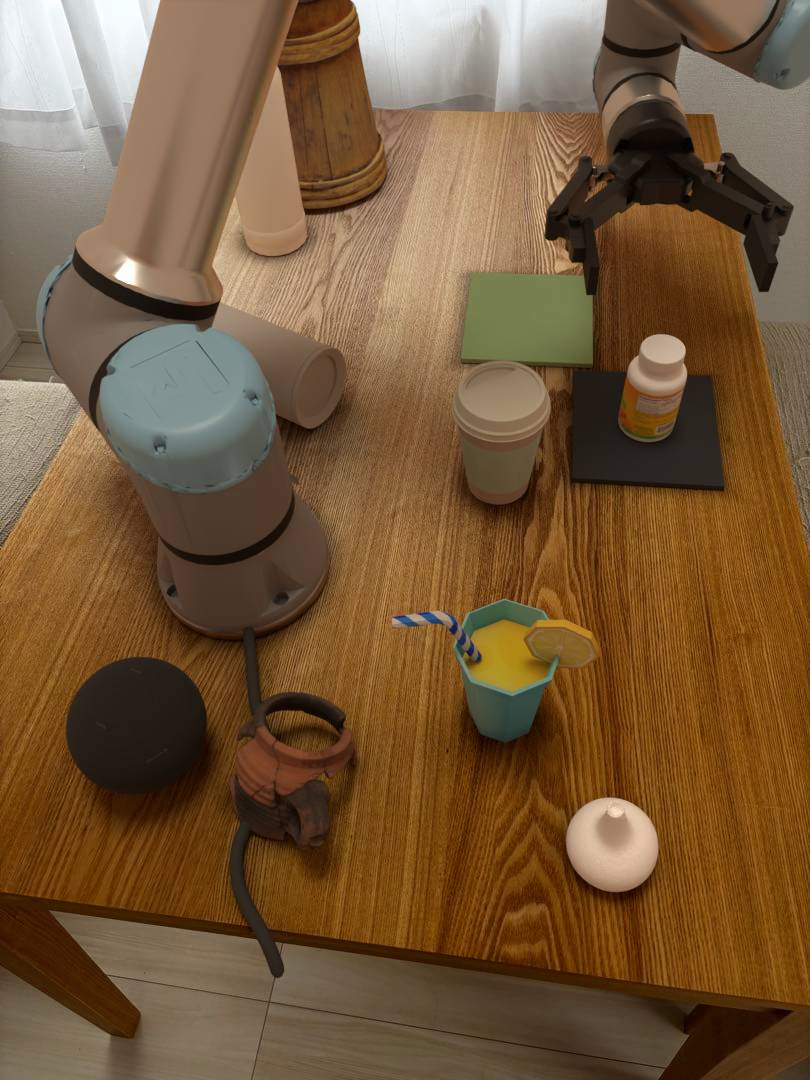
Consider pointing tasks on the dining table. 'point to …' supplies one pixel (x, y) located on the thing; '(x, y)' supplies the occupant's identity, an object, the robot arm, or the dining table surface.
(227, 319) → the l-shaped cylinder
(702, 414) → the charcoal mat
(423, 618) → the cup
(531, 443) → the coffee cup
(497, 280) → the sage mat
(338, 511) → the dining table surface
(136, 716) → the speaker
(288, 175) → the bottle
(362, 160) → the tankard
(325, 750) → the broken clay pot
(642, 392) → the supplement bottle
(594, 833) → the garlic bulb
